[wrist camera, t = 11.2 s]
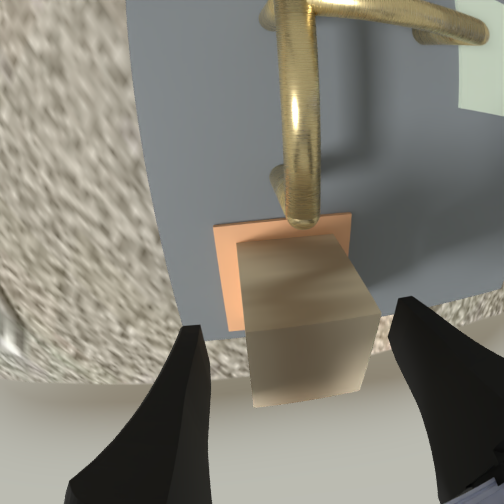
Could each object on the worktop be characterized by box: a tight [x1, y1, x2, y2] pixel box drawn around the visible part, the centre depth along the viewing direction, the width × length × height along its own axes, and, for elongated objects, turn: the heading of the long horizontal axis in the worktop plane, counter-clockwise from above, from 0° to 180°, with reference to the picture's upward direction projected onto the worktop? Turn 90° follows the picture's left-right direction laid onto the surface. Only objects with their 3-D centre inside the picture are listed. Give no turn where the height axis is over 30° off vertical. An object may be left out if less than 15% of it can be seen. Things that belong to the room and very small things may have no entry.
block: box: [236, 234, 382, 408], centre depth 12 cm, size 4×4×5 cm
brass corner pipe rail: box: [259, 0, 490, 230], centre depth 9 cm, size 7×7×4 cm
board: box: [126, 0, 504, 341], centre depth 12 cm, size 20×18×1 cm
